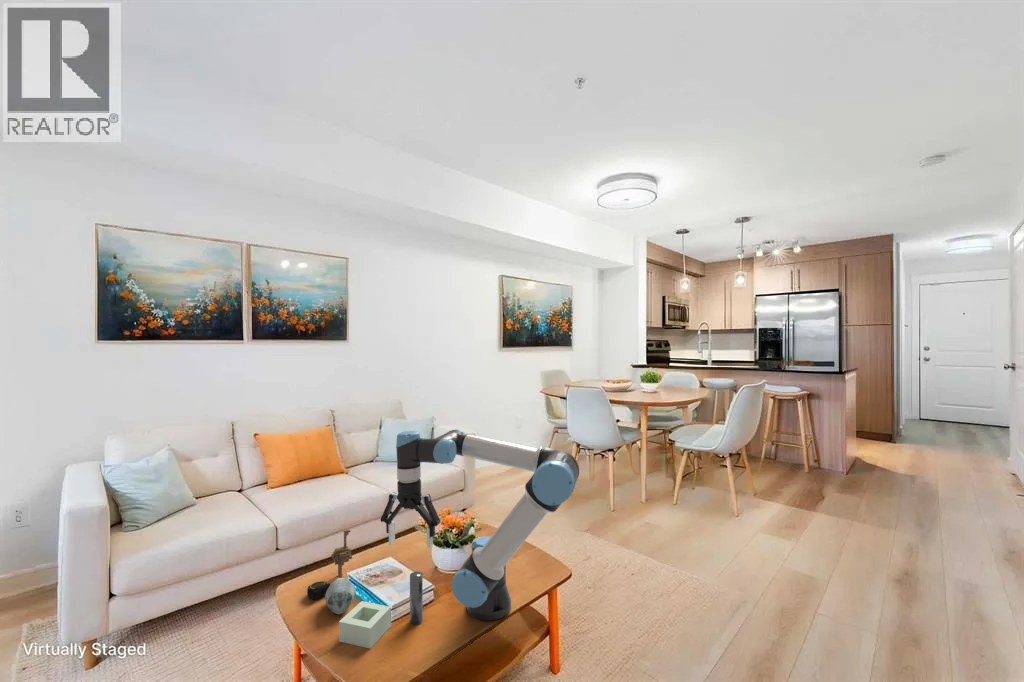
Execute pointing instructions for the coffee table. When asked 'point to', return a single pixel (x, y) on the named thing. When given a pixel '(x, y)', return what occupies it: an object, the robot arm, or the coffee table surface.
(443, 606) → the coffee table surface
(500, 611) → the robot arm
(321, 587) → the tape measure
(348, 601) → the grey rounded lump
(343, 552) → the ostrich figurine
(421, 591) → the grey metal cylinder
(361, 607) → the green block with hole
